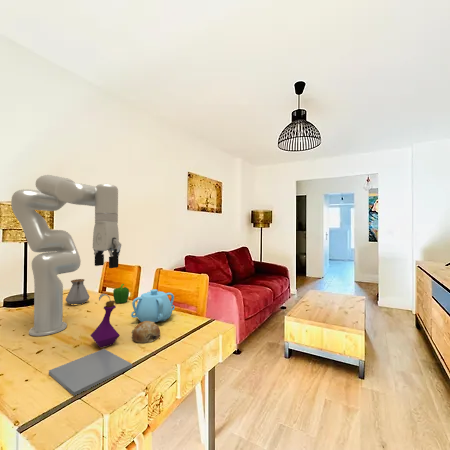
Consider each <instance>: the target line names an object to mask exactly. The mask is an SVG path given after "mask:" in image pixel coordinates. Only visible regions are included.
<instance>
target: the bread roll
mask: <svg viewBox="0 0 450 450" xmlns="http://www.w3.org/2000/svg"><path fill="white" fill-rule="evenodd" d="M133 328H134V329H132V331H131V336H132V337H131V338H132V340H133V341H134V342H135V343H140V344H146V343H152V342H155V341H157V339H159V337H160V336H161V330H160V327H159V325H157V324H156V322H151V321H144V322H141V321H140V322H139V323H138V324H137V325H135V326H134V327H133Z"/></svg>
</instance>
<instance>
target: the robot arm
mask: <svg viewBox="0 0 450 450" xmlns="http://www.w3.org/2000/svg"><path fill="white" fill-rule="evenodd" d="M35 187H36V190H35V189H19V190H16V191H15V192H14V193H12V196H11V201H10V203H11V205H10V206H11V209H12V213H13V214H14V217H15V218H16V220H17V221H18V222H19V224H20V225H21V228H22V230H23V234H24V236H25V239H26V242H27V244H28V246H29V248H30V250H31V251H32V252H34V253H38V254H37V255H35V256H34V257H33V258H32V261H31V271H32V275H33V283H34V286H33V287H34V289H33V290H34V292H33V293H34V295H33V296H34V297H33V299H34V300H33V301H34V302H33V303H34V305H33V309H34V310H33V327H31V328H30V329H29V330H28V335H30V336H32V337H42V336H44V337H45V336H49V335H53V334H56V333H59V332H62V331H63V330H65V329H66V328H67V326H68V324H67V322H65V321H63V313H64V312H63V311H64V310H63V309H64V308H63V307H64V306H63V304H64V302H63V301H64V300H63V298H64V285H63V282H62V280H61V279H60V278H59V277H58V276H59V275H62V274H67V273H69V274H70V273H73V272H75V271H77V270H78V269H80V267H81V261H82V260H81V257H80V254H79V251H78V249H77V245H76V244H75V241H74V239H73V237H72V235H71V234H70V233H69V232H68V231H66V230H62V229H50V227H49V226H48V223H47V220H46V219H45V218H44V217H43V216H42V215H41V214H40V213H39V212H37V211H43V212H44V211H46V212H55V211H59V210H60V209H61V208H62V207H64V206H65V205H66V204H67V203H68V204H71V205H77V206H88V207H94V228H93V234H92V249H93V251H94V252H93V255H94V266H95V267H98V266H105V265H104V264H105V254H104V252H106V251H108V254H109V256H108V268H109V269H115V268H116V269H117V268H119V256H120V253H121V248H122V243H121V242H120V240H119V239H120V238H119V234H120V233H119V225H118V224H119V189H118V186H116V185H114V184H110V183H109V184H107V183H101V184H97V185H90V184H86V183H85V184H83V183H78V182H75V181H73V179H70V178H66V177H62V176H61V177H60V176H58V175H52V174H51V175H50V174H43V175H41V176H39V177H38V178H36V181H35Z"/></svg>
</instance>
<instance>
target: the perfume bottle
mask: <svg viewBox="0 0 450 450" xmlns="http://www.w3.org/2000/svg"><path fill="white" fill-rule="evenodd" d="M104 296H107V297H108V298H109V301H106V303H105V305H104V306H103V310H104V311H105V312H104V313H105V314H104V316H103V319H102V321H101V322H100V324H99V325H98V326H97V327H96V329H94V331H93V332H92V333H91V334H90V337H91V338H92V340H93V341H94V342H95V344H96V345H97V346H98V347H99V348H100V349H104V348H106V347H108V346H113V345H114V344H115V343H116V341H117V339H118V338H119V337H120V334H119V332H118V331H117V330H116V329H115V328H114V327H113V325H112V324H111V322H110V318H111V314H112V312H113V310H114V309H116V306H117V305H116V304H115V303H116V302H115V300H111V298H110V296H109V295H108V294H106V293H101V294H100V295H99V297H98V301H100V300H101V299H102V298H103V297H104Z"/></svg>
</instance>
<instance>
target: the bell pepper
mask: <svg viewBox="0 0 450 450" xmlns="http://www.w3.org/2000/svg"><path fill="white" fill-rule="evenodd" d="M112 292H113V295H112V296H113V301H115V302H114V303H116V304H125V303H127V302H128V300H129V295H130V289H129V288H128V287H127V286H125V284H124V283H121V285H120V287H118V288H114V289H113V291H112Z"/></svg>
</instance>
